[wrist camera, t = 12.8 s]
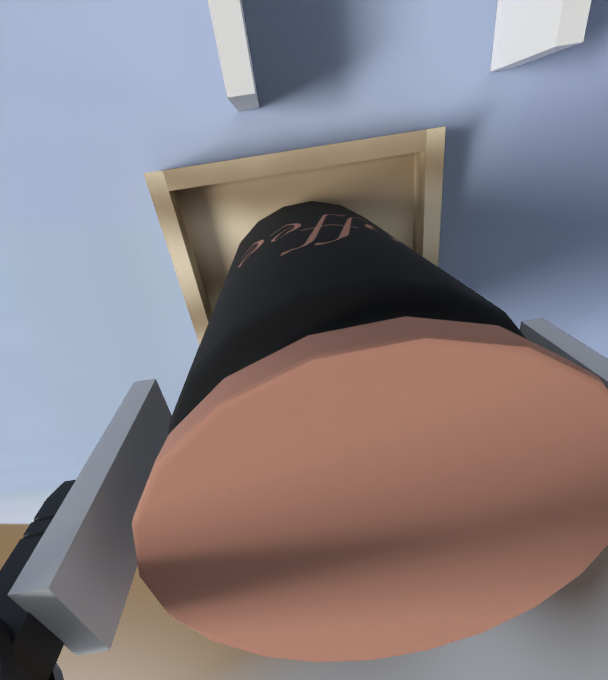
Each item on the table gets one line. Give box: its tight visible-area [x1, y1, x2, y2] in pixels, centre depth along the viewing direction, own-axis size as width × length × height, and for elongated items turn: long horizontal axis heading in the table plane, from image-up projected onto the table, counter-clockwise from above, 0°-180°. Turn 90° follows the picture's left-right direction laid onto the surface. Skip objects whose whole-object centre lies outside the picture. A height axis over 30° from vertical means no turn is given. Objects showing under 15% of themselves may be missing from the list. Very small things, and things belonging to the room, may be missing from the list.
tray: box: [144, 126, 446, 344], centre depth 23 cm, size 16×16×2 cm
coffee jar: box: [132, 201, 608, 662], centre depth 15 cm, size 11×11×18 cm
